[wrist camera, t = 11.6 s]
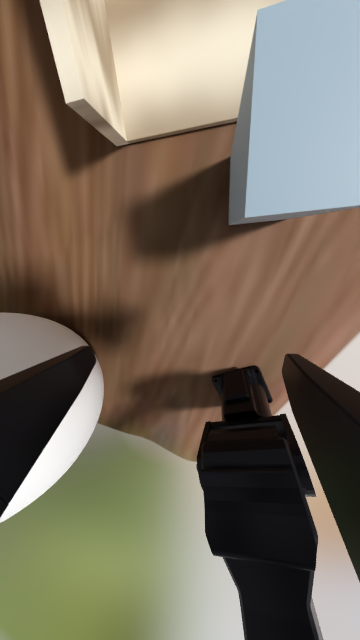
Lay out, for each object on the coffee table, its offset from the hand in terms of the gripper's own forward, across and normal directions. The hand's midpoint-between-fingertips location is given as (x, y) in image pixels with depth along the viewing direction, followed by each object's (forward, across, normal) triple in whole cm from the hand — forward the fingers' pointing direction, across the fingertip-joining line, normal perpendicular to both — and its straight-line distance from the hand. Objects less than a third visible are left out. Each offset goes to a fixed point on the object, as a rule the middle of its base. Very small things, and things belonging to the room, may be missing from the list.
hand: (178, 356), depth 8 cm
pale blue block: (+13, -5, -8) cm, 16 cm away
